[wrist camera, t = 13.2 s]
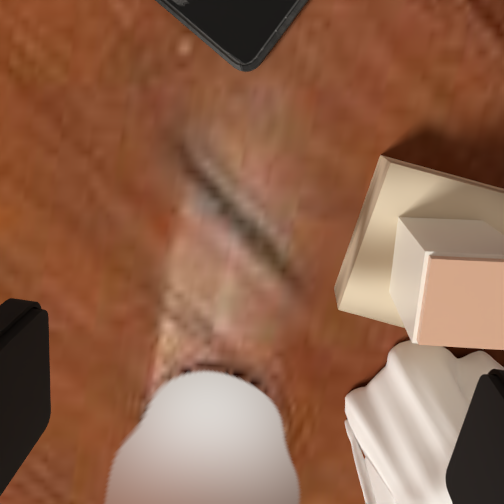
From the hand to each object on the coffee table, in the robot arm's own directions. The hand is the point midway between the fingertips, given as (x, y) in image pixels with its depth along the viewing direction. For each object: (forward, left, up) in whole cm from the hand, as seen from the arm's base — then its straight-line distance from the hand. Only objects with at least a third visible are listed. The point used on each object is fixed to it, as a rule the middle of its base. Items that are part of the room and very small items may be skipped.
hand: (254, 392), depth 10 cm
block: (+2, +11, -24) cm, 27 cm away
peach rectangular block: (+2, +10, -20) cm, 23 cm away
